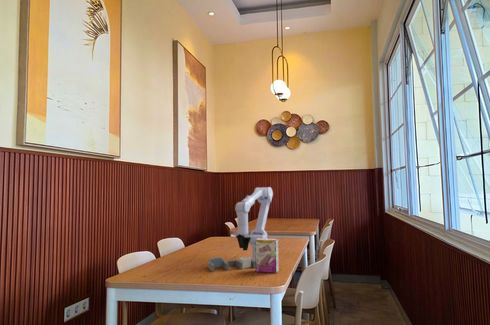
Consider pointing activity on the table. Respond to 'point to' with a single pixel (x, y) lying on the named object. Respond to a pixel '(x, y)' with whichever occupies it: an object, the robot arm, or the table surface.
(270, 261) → the candy bar box
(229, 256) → the table surface
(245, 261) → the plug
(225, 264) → the e-shaped shelf rack
